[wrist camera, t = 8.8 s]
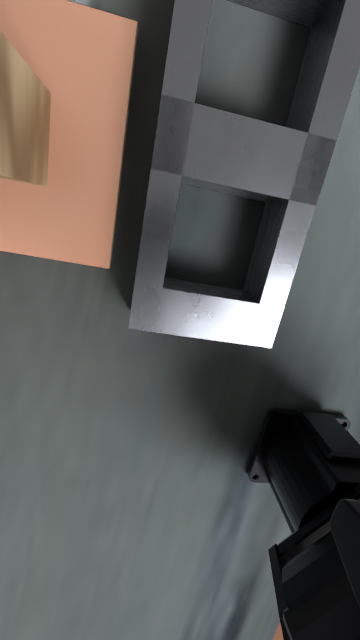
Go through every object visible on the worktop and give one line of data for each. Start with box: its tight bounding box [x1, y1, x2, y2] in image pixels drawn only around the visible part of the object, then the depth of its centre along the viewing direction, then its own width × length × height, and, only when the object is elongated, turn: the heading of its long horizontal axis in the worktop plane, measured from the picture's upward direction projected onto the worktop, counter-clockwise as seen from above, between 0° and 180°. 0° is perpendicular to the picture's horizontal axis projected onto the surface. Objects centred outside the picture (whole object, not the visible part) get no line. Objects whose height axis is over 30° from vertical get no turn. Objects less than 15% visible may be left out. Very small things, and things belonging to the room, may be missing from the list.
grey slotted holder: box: [128, 0, 360, 348], centre depth 15 cm, size 18×8×3 cm, turn 169°
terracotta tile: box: [0, 0, 138, 269], centre depth 14 cm, size 11×11×1 cm
